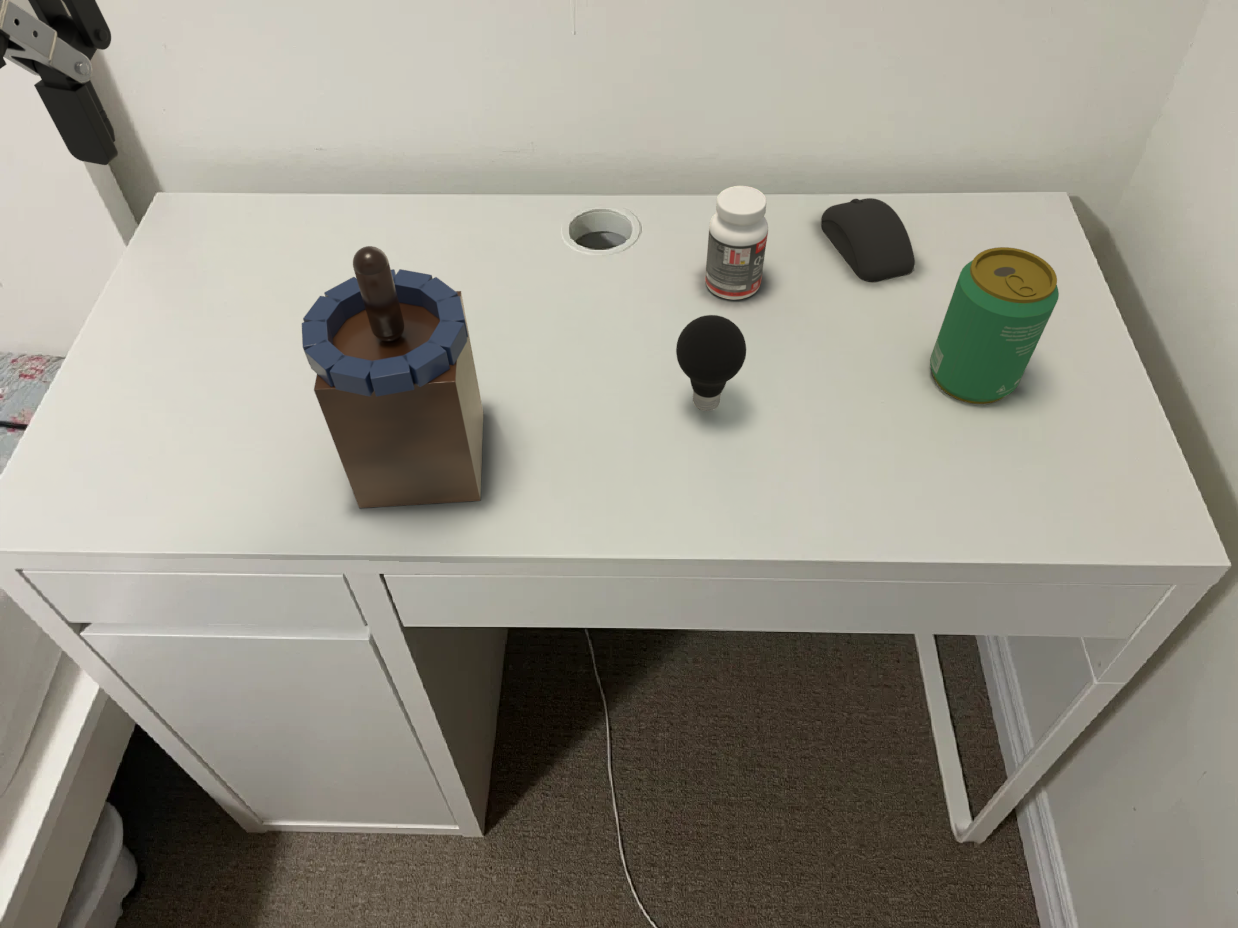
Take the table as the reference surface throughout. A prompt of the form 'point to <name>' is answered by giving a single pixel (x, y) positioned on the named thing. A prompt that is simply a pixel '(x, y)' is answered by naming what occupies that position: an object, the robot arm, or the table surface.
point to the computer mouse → (870, 238)
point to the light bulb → (710, 357)
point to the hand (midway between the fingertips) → (36, 210)
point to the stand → (403, 406)
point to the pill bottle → (737, 243)
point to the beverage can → (993, 324)
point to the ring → (394, 370)
